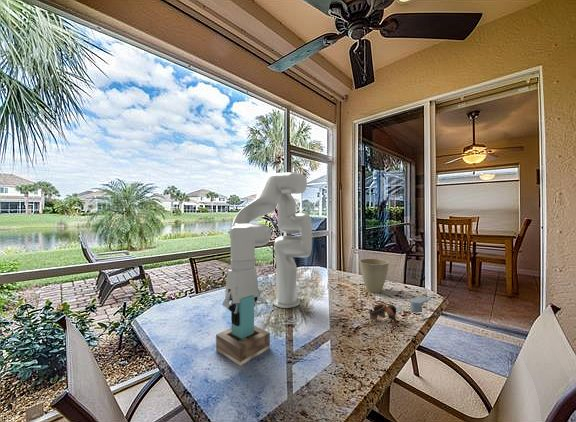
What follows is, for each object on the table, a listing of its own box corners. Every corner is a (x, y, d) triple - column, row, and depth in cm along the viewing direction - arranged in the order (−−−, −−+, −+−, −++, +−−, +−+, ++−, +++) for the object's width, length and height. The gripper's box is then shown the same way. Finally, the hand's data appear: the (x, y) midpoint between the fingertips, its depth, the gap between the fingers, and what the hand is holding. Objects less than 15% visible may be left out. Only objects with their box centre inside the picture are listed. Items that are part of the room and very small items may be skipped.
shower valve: (442, 301, 108) (419, 308, 101) (442, 314, 108) (419, 322, 101) (415, 293, 119) (393, 298, 112) (415, 304, 119) (393, 310, 112)
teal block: (244, 328, 84) (243, 291, 84) (254, 332, 81) (254, 295, 81) (231, 333, 81) (231, 295, 81) (241, 338, 77) (241, 299, 77)
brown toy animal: (391, 333, 92) (379, 312, 94) (373, 335, 99) (362, 315, 101) (407, 316, 99) (396, 297, 101) (389, 319, 106) (378, 300, 108)
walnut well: (245, 335, 90) (245, 321, 90) (269, 348, 82) (269, 332, 82) (216, 350, 81) (216, 334, 81) (240, 365, 73) (240, 348, 73)
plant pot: (364, 284, 148) (364, 257, 147) (391, 289, 139) (391, 260, 139) (355, 291, 136) (355, 262, 135) (384, 297, 127) (384, 265, 127)
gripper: (255, 258, 90) (255, 310, 90) (212, 267, 77) (212, 327, 77) (270, 261, 85) (270, 316, 85) (227, 271, 72) (227, 335, 72)
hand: (242, 320), depth 81 cm, fingers closed on teal block, 5 cm apart
